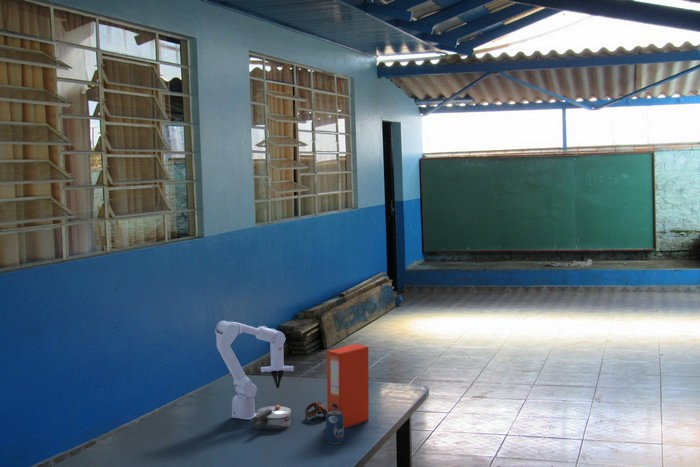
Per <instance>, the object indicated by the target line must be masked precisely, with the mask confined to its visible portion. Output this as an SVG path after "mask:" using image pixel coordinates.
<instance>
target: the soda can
mask: <svg viewBox="0 0 700 467" xmlns="http://www.w3.org/2000/svg"><path fill="white" fill-rule="evenodd" d="M327 413H328V414H327V416H325V424H326V425H325V426H326V429H325V430H326V431H325V432H326V433H325V434H326V437H325V438H326V441H327V442H328V444H333V445H339V444H341V443H342V442H343V441H344V439H345V430H344V429H345V428H344V416H343V414H342V411H340V410H331V411H328V410H327Z"/></svg>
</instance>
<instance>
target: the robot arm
mask: <svg viewBox="0 0 700 467" xmlns="http://www.w3.org/2000/svg"><path fill="white" fill-rule="evenodd" d="M214 333H215V335H216V348H217V351H218V352H219V354H220V356H221V358H222V360H223V361H224V363H225V365H226V367H227V369H228V370H229V373H230V374H231V376H232V378H233V381H232V383H233V385H234V390H235V392H236V394H237V395H235V396H233V398H232V400H231V418H233V419H239V420H240V419H241V420H246V421H247V420H253V417H255V416H256V411H255V408H256V407H255V396H256V395H257V393H258V387H257V386H256V384H254V383H253V382H252V381H251V379H250V377H248V376H247V375H246V373H245V371H244V369H243V367H242V366H241V363H240V361H239V360H238V358H237V357H236V353H235V352H234V350H233V348H232V347H231V345H232V344H233V342H234V341H235V339H236V338H237V336H239V335H241V334H242V333H244V334H245V333H246V334H249V335H254V336H255V338H256V339H257V340H261V341H264V342H268V343H270V345H269V346H270V348H269V349H270V365H268V366H261V367H260V372H261V373H264V372H265V373H269V372H271V376H272V378H273V380H274V384H275V388H276V389H279V388H280V384H281V381H282V378H283V377H284V376H283V375H284V372H294V370H295V368H294V365H284V364H285V363H284V360H285V358H284V346H285V345H284V344H285V342H286V338H287V336H286V335H285V334H284V332H282V331H280V330H276V329H275V328H268V327H267V325H262V326H261V325H260V326H258V327H254V326H251V325H248V324H243V323H240V322H237V321H236V322H235V321H231V320H229V321H227V320H220V321H219V322H218V323H217V324H216V327H215V329H214ZM285 336H286V337H285Z"/></svg>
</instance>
